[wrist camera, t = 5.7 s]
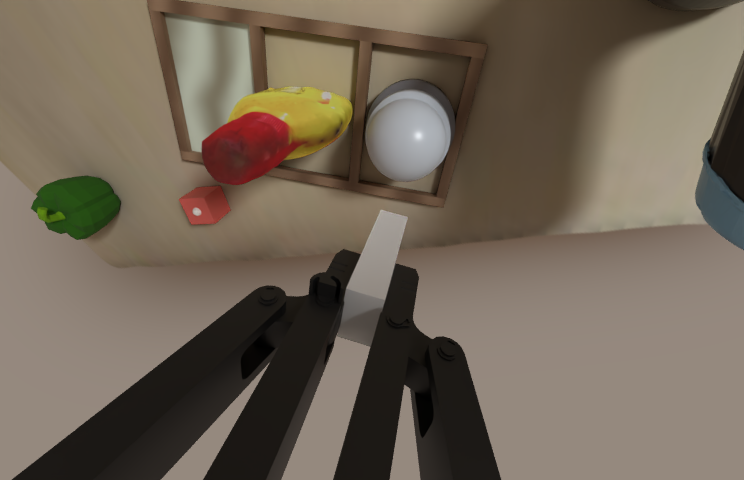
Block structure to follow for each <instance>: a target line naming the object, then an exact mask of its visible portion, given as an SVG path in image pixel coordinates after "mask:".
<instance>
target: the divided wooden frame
mask: <svg viewBox="0 0 744 480" xmlns="http://www.w3.org/2000/svg"><path fill="white" fill-rule="evenodd" d="M147 3H148V7H149V12H150V16H151V21H152V25H153V30H154V34H155V39H156V43H157V48H158V52H159V57H160V61H161V66H162V70H163V75H164V79H165V84H166V88H167V93H168V97H169V102H170V106H171V110H172V115H173V119H174V124H175V128H176V133H177V137H178V142H179V146H180V151H181V155H182V159H184V160H189V161H194V162H200V163H204V162H203V159H202V150H201V147H202V141H203V140H204V139H206V138H207V137H208V136H209V135H211V134H212V133H213V132H214V131H216V130H217V129H218V128H220V127H221V126H223V125H224V124H227V122H228V119H229V116H230V114H231V112H232V110H233V109H234V107H235V105H236V104H237V103H238V102H239V101H240V100H241V99H242V98H243V97H245V96H247V95H250V94H254V93H258V92H260V91H264V90H267V89H268V82H267V66H266V49H265V32H264V27H270V28H276V29H283V30H290V31H297V32H304V33H311V34H317V35H324V36H331V37H338V38H345V39H352V40H358V41H360V49H359V61H358V73H357V85H356V98H355V110H354V122H353V135H352V147H351V159H350V171H349V178H345V177H339V176H334V175H328V174H323V173H317V172H312V171H306V170H301V169H295V168H290V167H284V166H279V165H278V166H277V167H274V168H272V169H271V170H270V171H269V172H267V173H266V174H265V175H270V176H276V177H281V178H286V179H292V180H297V181H303V182H308V183H313V184H319V185H324V186H330V187H335V188H340V189H346V190H351V191H357V192H362V193H367V194H373V195H378V196H384V197H389V198H394V199H400V200H405V201H411V202H416V203H422V204H427V205H432V206H438V207H444V203H445V200H446V196H447V193H448V189H449V185H450V182H451V178H452V174H453V171H454V167H455V163H456V160H457V156H458V152H459V149H460V145H461V141H462V138H463V134H464V130H465V127H466V123H467V119H468V116H469V112H470V108H471V105H472V101H473V97H474V94H475V90H476V86H477V83H478V79H479V75H480V72H481V68H482V65H483V61H484V57H485V54H486V50H487V46H488V45H487V44H480V43H473V42H466V41H459V40H452V39H445V38H438V37H431V36H424V35H417V34H410V33H403V32H396V31H389V30H382V29H375V28H368V27H361V26H354V25H347V24H340V23H333V22H326V21H319V20H312V19H305V18H298V17H291V16H284V15H277V14H270V13H263V12H256V11H249V10H242V9H235V8H228V7H221V6H214V5H207V4H200V3H193V2H186V1H179V0H147ZM373 43H379V44H386V45H393V46H399V47H406V48H413V49H420V50H427V51H434V52H440V53H447V54H454V55H461V56H468V57H471V59H470V63H469V67H468V71H467V75H466V79H465V83H464V86H463V90H462V94H461V98H460V102H459V106H458V110H457V114H456V118H455V117H454V112H453V108H452V105H451V103H450V101H449V99H448V98H447V96H446V95H445V94H444V93H443V92H442V91H441V90H440V89H439V88H438V87H436V86H435V85H433V84H431V83H429V82H427V81H424V80H419V79H406V80H402V81H399V82H396V83H394V84H392V85H390V86H389V87H387V88H386V89H385V90H384V91H383V92H382V93H381V94H380V95H379V96H378V97H377V98H376V99H375V101H374V102H373V104H372V106H371V108H370V110H369V113H368V116H367V122H366V126H367V123H368V120H369V118H370V115H371V114H372V112H373V111H374V109H375V108H376V107H377V106H378V105H379V103H380V102H381V101H382V100H383V99H384V98H385V97H387V96H388V95H390V94H392V93H394V92H396V91H399V90H403V89H418V90H422V91H425V92H427V93H429V94H431V95H433V96H434V97H435V98H436V99H437V100H438V101H439V102H440V103H441V104H442V105H443V107H444V108H445V110H446V112H447V115H448V118H449V123H450V132H451V138H450V145H449V149H448V152H447V154H446V158H445V162H444V166H443V170H442V174H441V178H440V181H439V185H438V189H437V193H436V194H433V193H427V192H422V191H416V190H411V189H405V188H400V187H394V186H389V185H383V184H378V183H372V182H367V181H361V180H359V178H360V168H361V158H362V149H363V139H364V129H365V119H366V109H367V99H368V89H369V79H370V70H371V60H372V50H373Z"/></svg>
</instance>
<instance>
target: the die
mask: <svg viewBox="0 0 744 480" xmlns="http://www.w3.org/2000/svg"><path fill="white" fill-rule="evenodd" d="M179 201H180V203H181V205H182V207H183V209H184V211H185V213H186V215H187V217H188V219H189V221H190V223H191V224H214V223H217V222H218V221H219V220H220V219H221V218H222V217H224V216H225V215H226V214H227V213H228V212H229V211H231V210H230V207H229V205H228V203H227V200H226V198H225V195H224V193H223V191H222V188H221V186H211V187H197V188H195V189H194V190H192V191H191V192H189V193H188V194H186V195H185V196H183V197H181V198H180V199H179Z"/></svg>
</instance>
